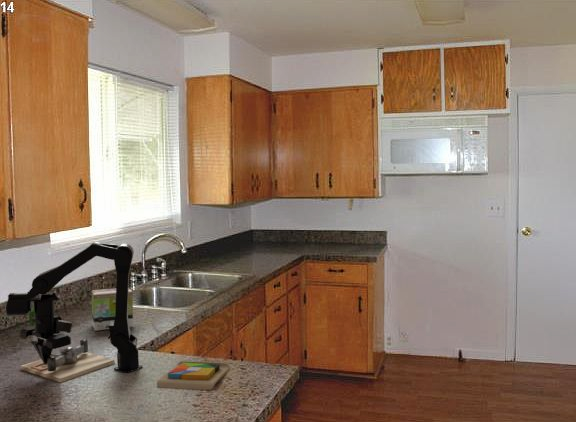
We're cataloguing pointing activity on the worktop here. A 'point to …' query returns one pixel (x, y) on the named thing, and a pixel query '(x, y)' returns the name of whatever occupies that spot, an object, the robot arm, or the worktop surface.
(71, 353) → the bell crank
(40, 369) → the level window
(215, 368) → the wooden puzzle
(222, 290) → the worktop surface
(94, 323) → the tea box
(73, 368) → the board
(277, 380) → the worktop surface
